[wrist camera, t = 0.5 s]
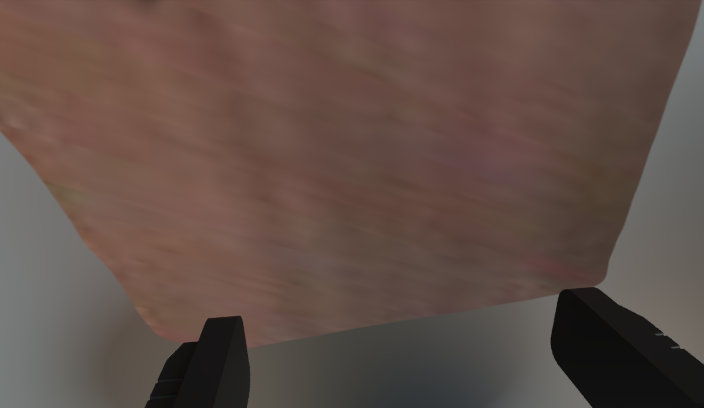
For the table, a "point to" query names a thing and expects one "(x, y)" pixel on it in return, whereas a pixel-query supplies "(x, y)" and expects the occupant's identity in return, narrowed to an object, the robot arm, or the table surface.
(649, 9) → the table surface
